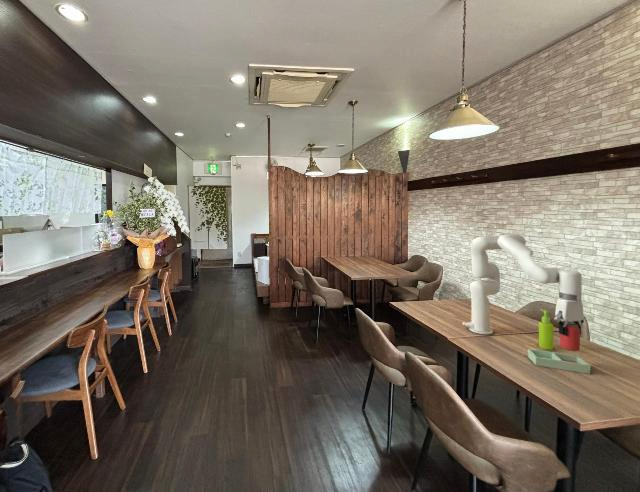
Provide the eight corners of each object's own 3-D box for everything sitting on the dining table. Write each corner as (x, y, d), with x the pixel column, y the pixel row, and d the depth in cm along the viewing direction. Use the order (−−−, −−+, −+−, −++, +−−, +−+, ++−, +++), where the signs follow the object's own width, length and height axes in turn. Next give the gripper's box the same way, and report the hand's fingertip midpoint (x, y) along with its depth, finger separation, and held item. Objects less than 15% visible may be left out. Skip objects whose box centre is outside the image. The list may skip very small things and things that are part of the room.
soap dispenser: (548, 345, 159) (548, 309, 158) (555, 350, 152) (555, 313, 152) (535, 343, 161) (535, 308, 160) (542, 349, 154) (542, 312, 154)
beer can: (583, 352, 132) (584, 326, 132) (567, 351, 134) (567, 325, 133) (572, 345, 139) (572, 321, 139) (556, 344, 140) (556, 320, 140)
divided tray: (535, 365, 138) (535, 357, 137) (527, 355, 147) (527, 348, 147) (590, 373, 130) (590, 365, 130) (577, 363, 139) (577, 355, 139)
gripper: (577, 293, 141) (576, 330, 141) (545, 295, 139) (545, 332, 139) (595, 298, 133) (595, 336, 133) (562, 299, 131) (562, 338, 131)
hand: (569, 333), depth 136 cm, fingers closed on beer can, 6 cm apart
